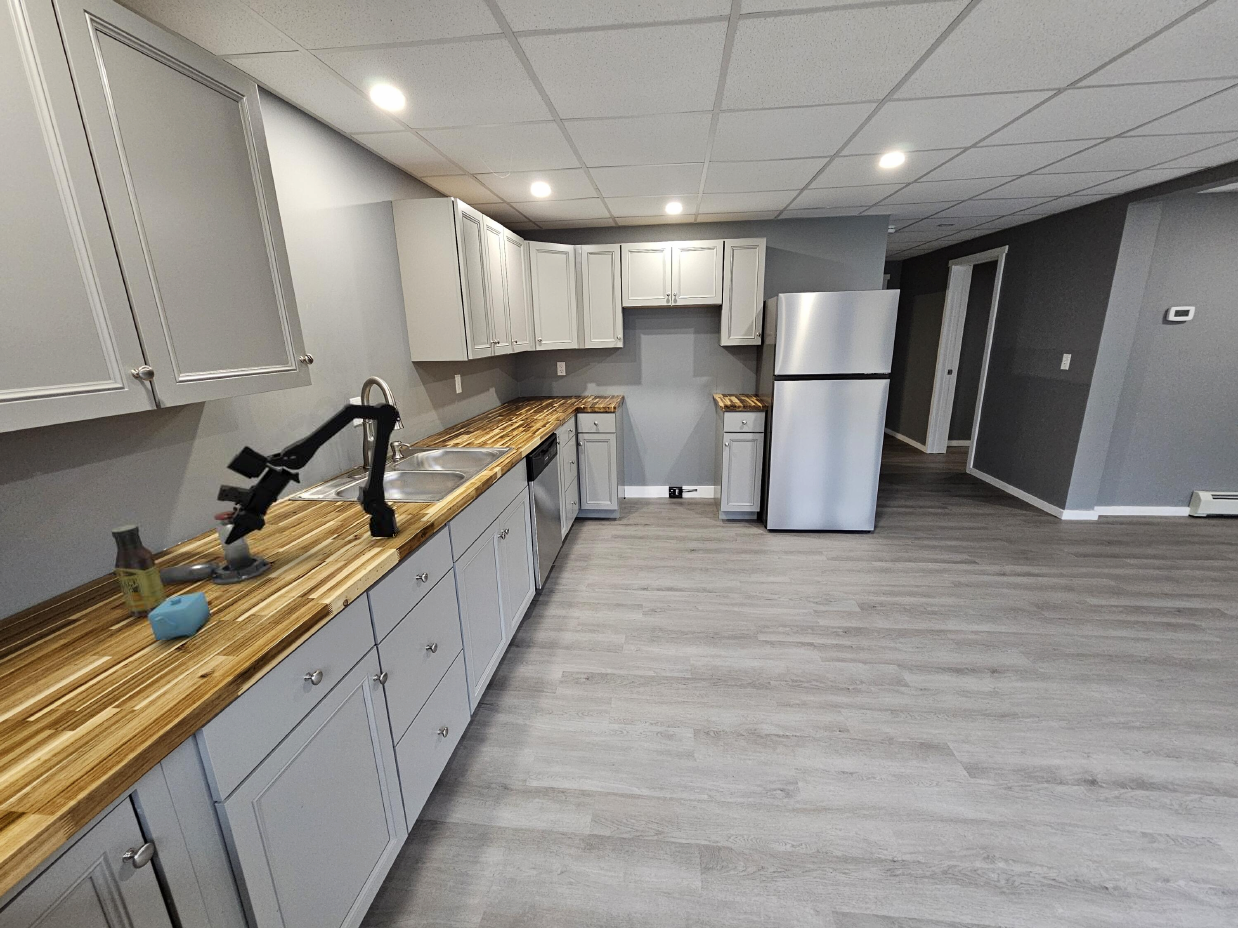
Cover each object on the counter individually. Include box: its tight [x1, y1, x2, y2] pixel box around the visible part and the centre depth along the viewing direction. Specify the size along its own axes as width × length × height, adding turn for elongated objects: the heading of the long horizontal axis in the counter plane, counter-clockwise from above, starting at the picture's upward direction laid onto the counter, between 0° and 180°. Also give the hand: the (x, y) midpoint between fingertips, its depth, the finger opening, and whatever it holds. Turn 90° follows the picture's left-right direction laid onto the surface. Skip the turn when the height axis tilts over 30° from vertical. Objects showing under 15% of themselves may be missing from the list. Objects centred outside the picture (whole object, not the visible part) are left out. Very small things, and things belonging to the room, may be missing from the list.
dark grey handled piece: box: [159, 555, 272, 586], centre depth 123 cm, size 23×12×4 cm, turn 101°
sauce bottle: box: [111, 524, 167, 618], centre depth 105 cm, size 7×6×20 cm
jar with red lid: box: [213, 510, 252, 568], centre depth 122 cm, size 5×5×14 cm
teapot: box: [147, 591, 212, 641], centre depth 97 cm, size 12×6×8 cm, turn 16°
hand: (226, 541), depth 121 cm, fingers closed on jar with red lid, 5 cm apart
